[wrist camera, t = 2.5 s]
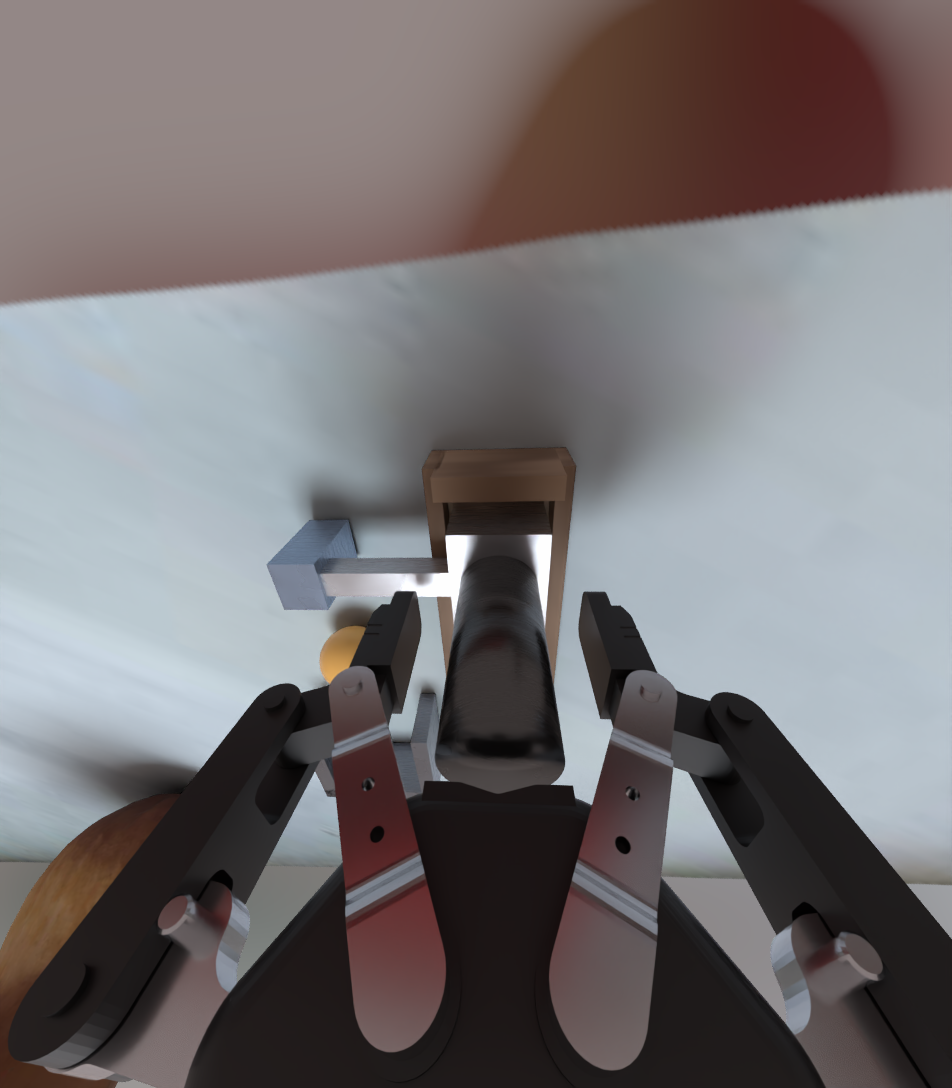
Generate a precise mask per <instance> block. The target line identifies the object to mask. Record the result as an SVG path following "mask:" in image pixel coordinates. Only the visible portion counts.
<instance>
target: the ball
mask: <svg viewBox="0 0 952 1088" xmlns="http://www.w3.org/2000/svg"><path fill="white" fill-rule="evenodd" d="M365 629H366V628H365V627H362V626H349V627H345V628H342V629H340V630H338V631H337V632H335V633H334V634H333V635H331V636H330V637H329V638H328V640H327V641H326V642H325V644H324V646H323V648H322V650H321V654H320V669H321V672H322V675H323V676H324V678H325V680H326V681H327V682H328V683H329V684H330V683H331V681H332V680H333V679H334V677H335V676H336V675H337V674H339V673H340V672H341V671H343V670H345V669H347V668H349V666H350V664H351V661H352V659H353V657H354V654H355V652H356V650H357V648H358V645H359V643H360V641H361V638H362V636H363V635H364V631H365Z"/></svg>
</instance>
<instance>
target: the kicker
mask: <svg viewBox="0 0 952 1088" xmlns="http://www.w3.org/2000/svg"><path fill="white" fill-rule="evenodd" d="M445 537H446V547H447V558H357V554H356V549H355V545H354V541H353V537H352V533H351V529H350V525H349V521H348V520H309V521H308V522H307V523H306V524H305V525H304V526H303V527H302V529H301V530H300V531H299V532H298V533H297V534H296V535H295V536H294V537H293V538H292V539H291V540H290V541H289V542H288V543H287V544H286V545H285V546H284V547H283V548H282V549H281V550H280V551H279V552H278V553H277V554H276V555H275V556H274V557H273V558H272V559H271V561H270V562H269V563H268V564H267V567H268V570H269V572H270V575H271V577H272V580H273V582H274V585H275V587H276V590H277V592H278V595H279V597H280V600H281V602H282V605H283V607H284V610H328V609H329V608H330V606H331V604H332V603H333V601H334V599H335V598H336V596H394V593H395V592H396V591H416V593H417V596H451V600H452V611H453V622H454V628H453V635H452V641H451V648H450V655H449V662H448V668H447V675H446V682H445V689H444V695H443V702H442V709H441V715H440V722H439V729H438V736H437V742H436V749H435V756H434V758H435V764H436V767H437V769H438V770H439V772H440V773H441V774H442V775H443V776H444V777H445V778H446V779H447V780H448V781H450V782H462V783H465V784H468V785H471V786H474V787H477V788H480V789H483V790H486V791H489V792H493V793H496V794H500V793H504V792H508V791H512V790H516V789H520V788H524V787H528V786H532V785H536V784H537V785H551V784H552V783H554V782H555V781H556V780H557V779H558V778H559V777H560V775H561V774H562V772H563V770H564V767H565V756H564V750H563V743H562V737H561V730H560V724H559V717H558V711H557V704H556V698H555V691H554V685H553V678H552V672H551V665H550V659H549V652H548V645H547V639H546V632H545V623H546V609H547V596H548V583H549V570H550V557H551V544H552V532H551V528H550V524H549V520H548V516H547V512H546V508H545V505H544V501H530V502H462V503H453V507H452V511H451V515H450V519H449V523H448V527H447V531H446V535H445Z"/></svg>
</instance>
